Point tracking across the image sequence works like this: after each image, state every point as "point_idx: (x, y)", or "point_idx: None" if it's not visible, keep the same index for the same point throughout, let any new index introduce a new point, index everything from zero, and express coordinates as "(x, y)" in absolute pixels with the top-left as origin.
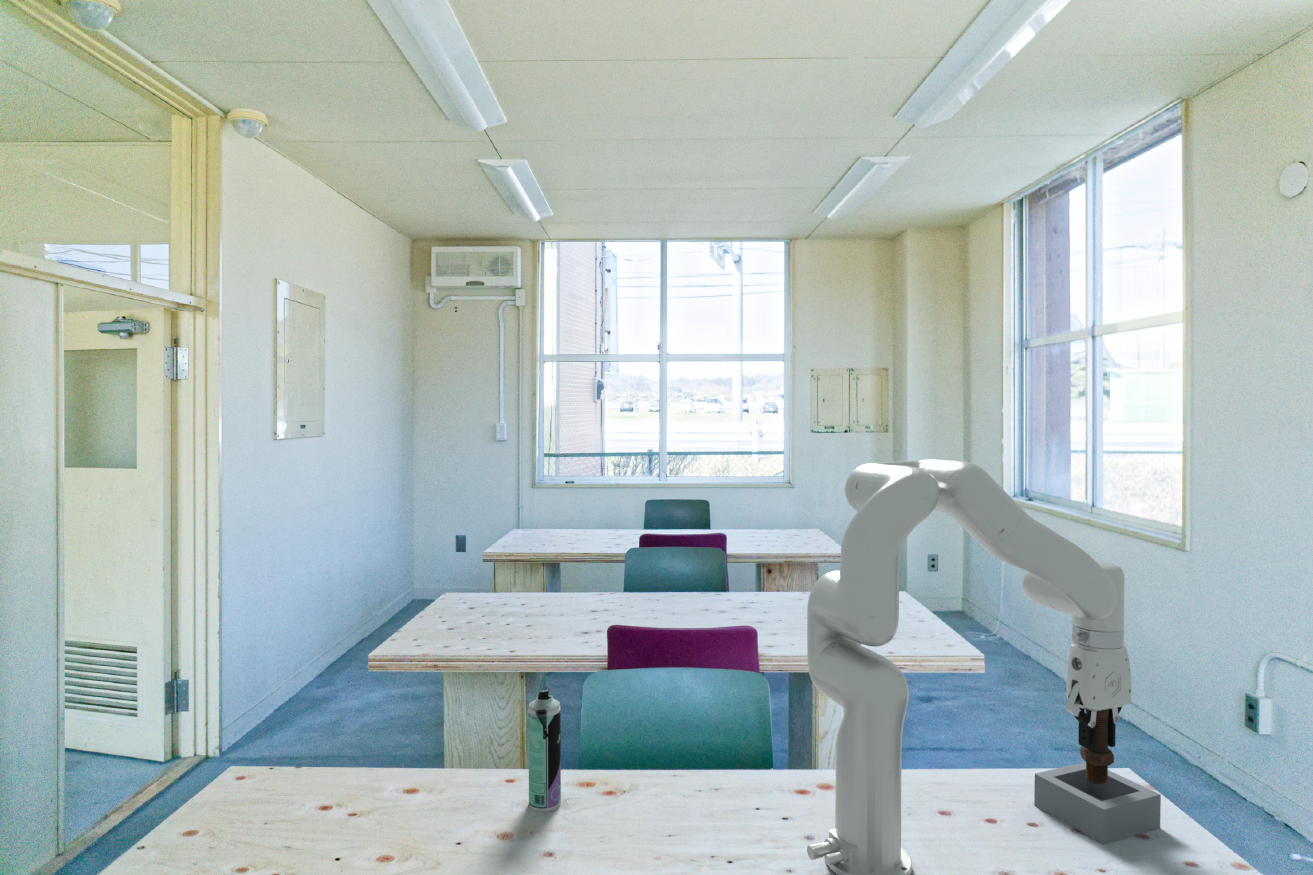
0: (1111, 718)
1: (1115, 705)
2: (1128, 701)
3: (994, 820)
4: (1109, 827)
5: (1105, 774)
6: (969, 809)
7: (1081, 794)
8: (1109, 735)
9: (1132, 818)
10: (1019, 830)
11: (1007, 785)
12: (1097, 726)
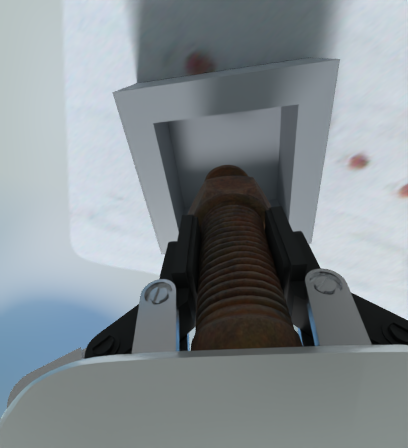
0: (177, 300)
1: (217, 370)
2: (56, 386)
3: (404, 188)
4: (299, 61)
5: (225, 173)
6: (402, 224)
7: (309, 148)
8: (197, 244)
9: (220, 73)
10: (402, 151)
11: None
12: (269, 276)
